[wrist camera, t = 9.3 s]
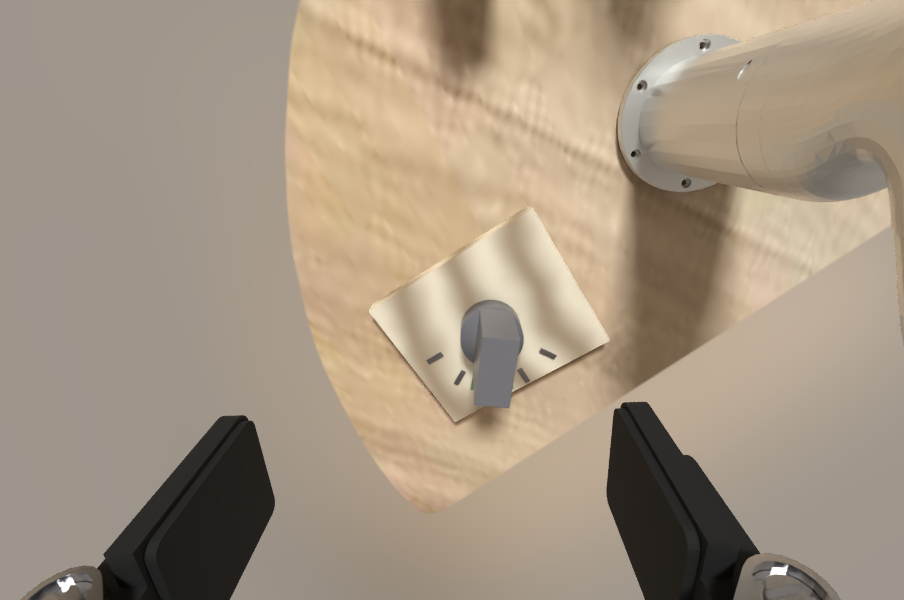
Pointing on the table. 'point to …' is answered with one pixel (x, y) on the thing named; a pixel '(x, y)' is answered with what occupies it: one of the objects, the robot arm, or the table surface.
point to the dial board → (490, 278)
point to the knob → (492, 350)
